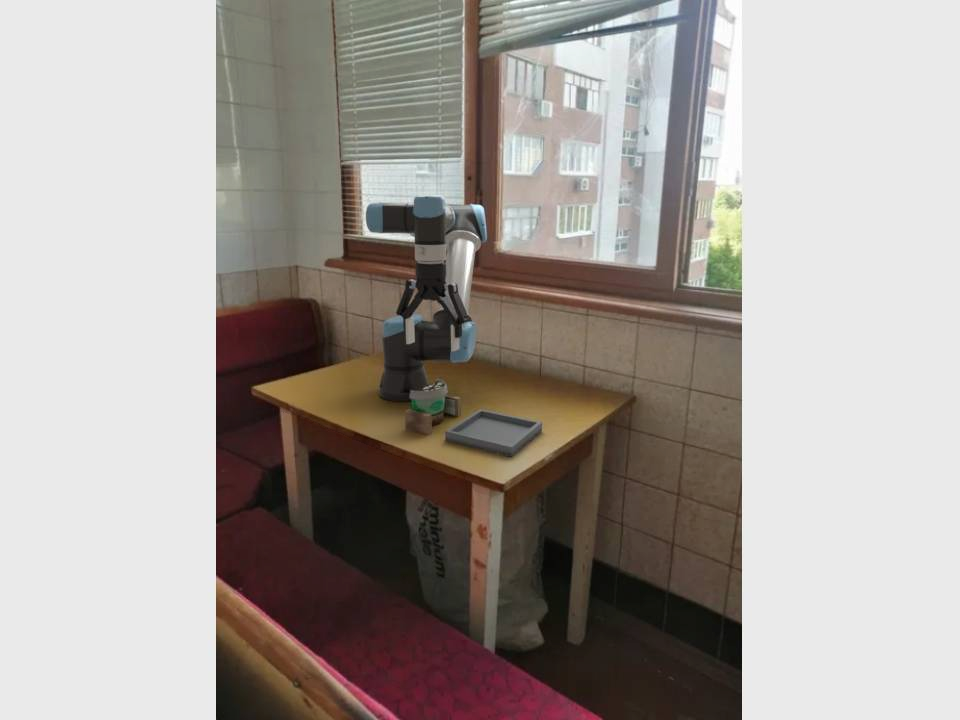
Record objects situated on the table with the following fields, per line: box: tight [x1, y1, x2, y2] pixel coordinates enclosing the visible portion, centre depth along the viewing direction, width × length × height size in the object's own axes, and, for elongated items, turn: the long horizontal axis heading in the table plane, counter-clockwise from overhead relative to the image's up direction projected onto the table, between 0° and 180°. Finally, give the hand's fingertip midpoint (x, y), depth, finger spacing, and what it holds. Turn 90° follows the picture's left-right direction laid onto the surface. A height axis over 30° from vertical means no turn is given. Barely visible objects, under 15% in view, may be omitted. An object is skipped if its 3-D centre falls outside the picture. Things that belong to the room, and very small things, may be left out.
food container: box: [409, 378, 448, 427], centre depth 153 cm, size 12×6×10 cm, turn 148°
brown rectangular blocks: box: [404, 394, 462, 436], centre depth 153 cm, size 7×16×5 cm, turn 150°
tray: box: [444, 408, 543, 458], centre depth 145 cm, size 18×17×2 cm
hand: (432, 346), depth 148 cm, fingers open, 13 cm apart
